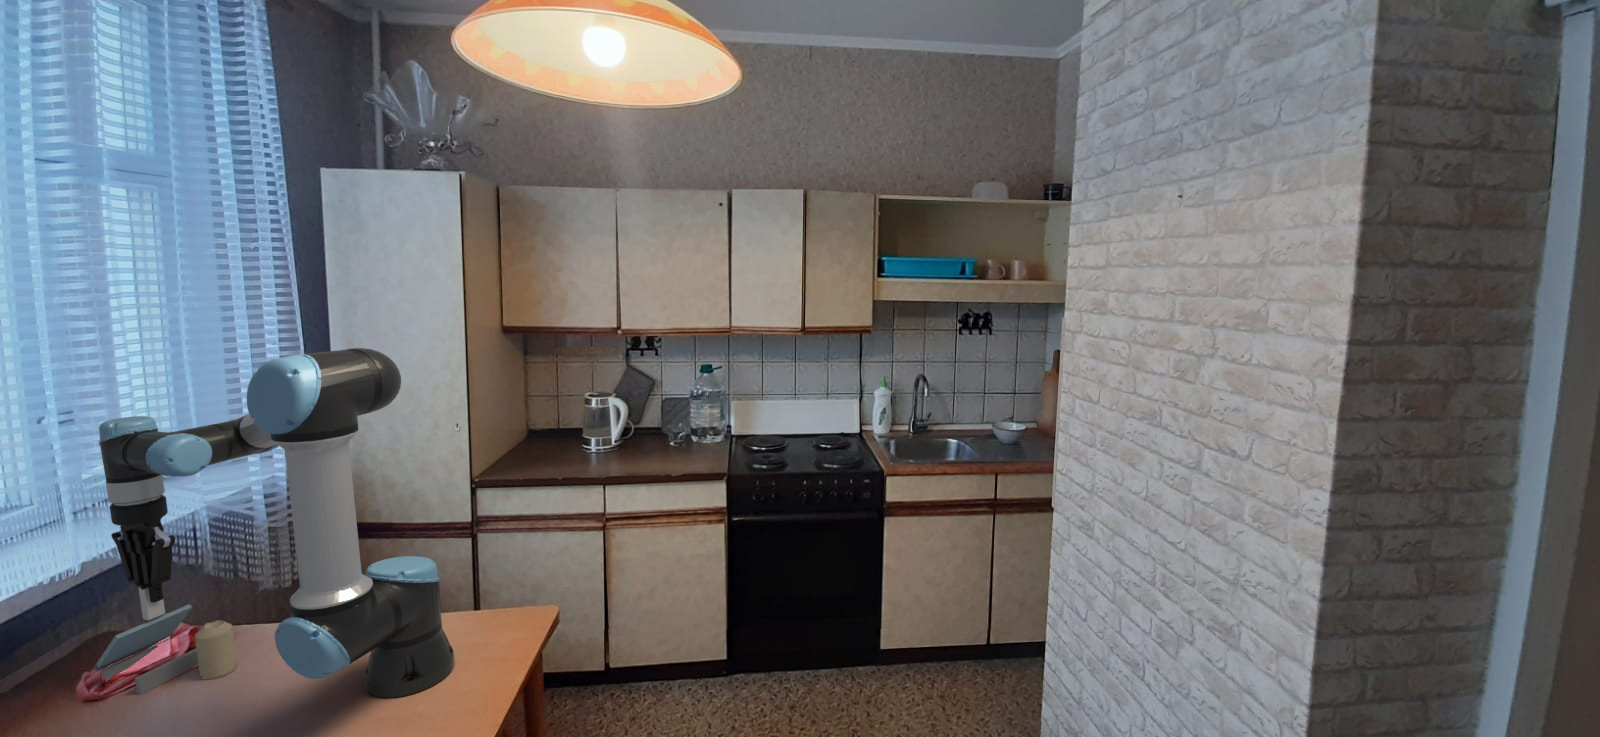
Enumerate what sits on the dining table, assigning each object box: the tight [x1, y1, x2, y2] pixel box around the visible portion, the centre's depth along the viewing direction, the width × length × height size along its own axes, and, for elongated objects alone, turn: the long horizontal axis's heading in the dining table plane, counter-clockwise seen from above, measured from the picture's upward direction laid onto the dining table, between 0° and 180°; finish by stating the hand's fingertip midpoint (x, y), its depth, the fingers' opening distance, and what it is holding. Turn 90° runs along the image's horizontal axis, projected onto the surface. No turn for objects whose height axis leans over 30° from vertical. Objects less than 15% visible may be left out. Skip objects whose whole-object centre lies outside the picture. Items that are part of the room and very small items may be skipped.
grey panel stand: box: [99, 644, 199, 695], centre depth 128 cm, size 10×12×3 cm
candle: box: [194, 619, 238, 680], centre depth 128 cm, size 6×6×10 cm
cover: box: [93, 604, 193, 672], centre depth 128 cm, size 11×12×1 cm
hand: (154, 616), depth 126 cm, fingers closed
